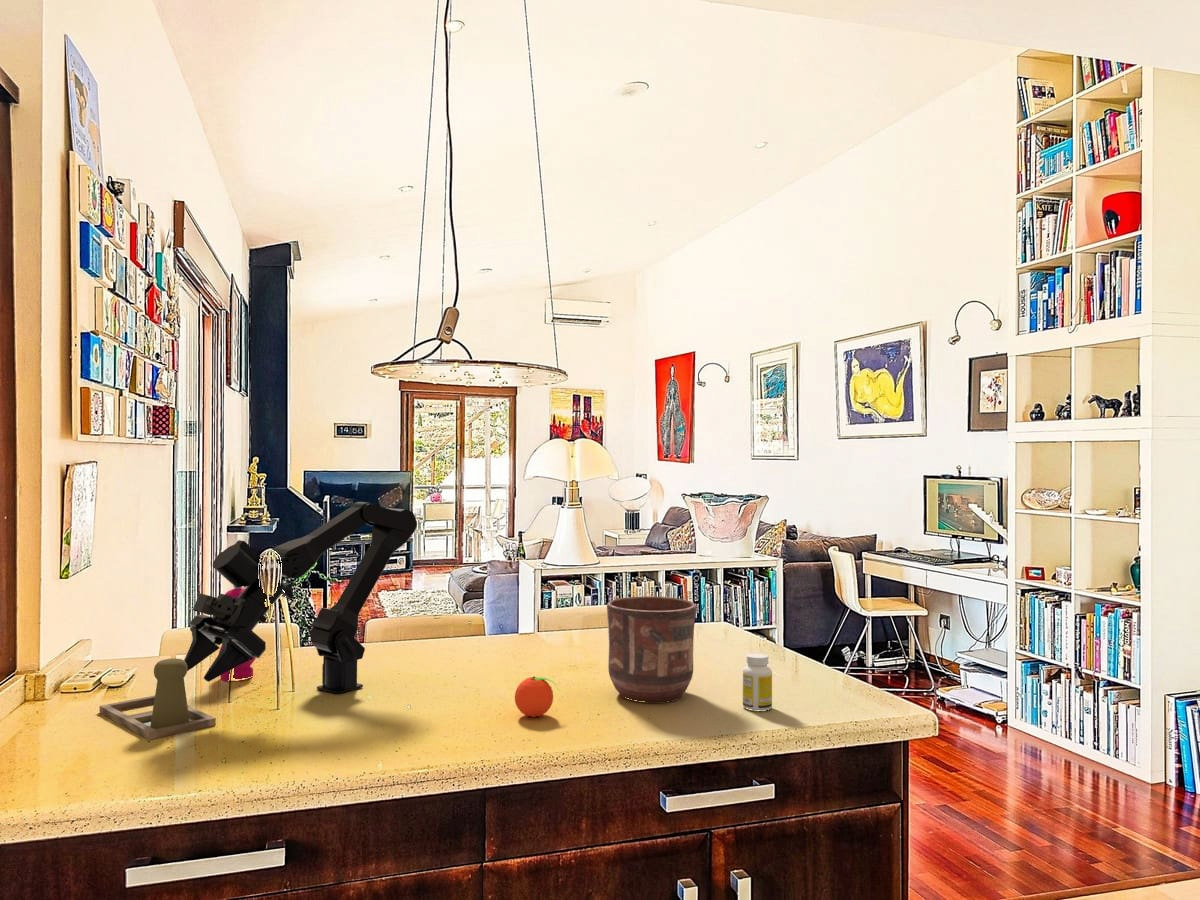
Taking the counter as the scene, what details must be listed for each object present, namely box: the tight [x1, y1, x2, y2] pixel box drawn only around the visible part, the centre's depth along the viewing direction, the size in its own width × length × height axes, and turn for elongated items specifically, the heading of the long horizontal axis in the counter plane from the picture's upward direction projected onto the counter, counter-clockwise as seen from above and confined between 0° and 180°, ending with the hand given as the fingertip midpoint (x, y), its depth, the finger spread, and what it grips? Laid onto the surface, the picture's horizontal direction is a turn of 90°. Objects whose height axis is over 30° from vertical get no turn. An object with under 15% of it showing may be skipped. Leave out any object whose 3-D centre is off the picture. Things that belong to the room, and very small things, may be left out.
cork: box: [150, 657, 190, 729], centre depth 153 cm, size 6×6×11 cm
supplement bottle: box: [742, 653, 773, 711], centre depth 167 cm, size 5×5×10 cm
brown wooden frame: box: [98, 695, 217, 740], centre depth 157 cm, size 22×11×1 cm, turn 48°
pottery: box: [606, 595, 697, 703], centre depth 176 cm, size 18×18×18 cm
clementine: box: [514, 676, 560, 718], centre depth 161 cm, size 8×7×7 cm
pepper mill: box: [218, 584, 257, 682], centre depth 185 cm, size 7×7×20 cm
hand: (193, 675), depth 156 cm, fingers open, 9 cm apart
